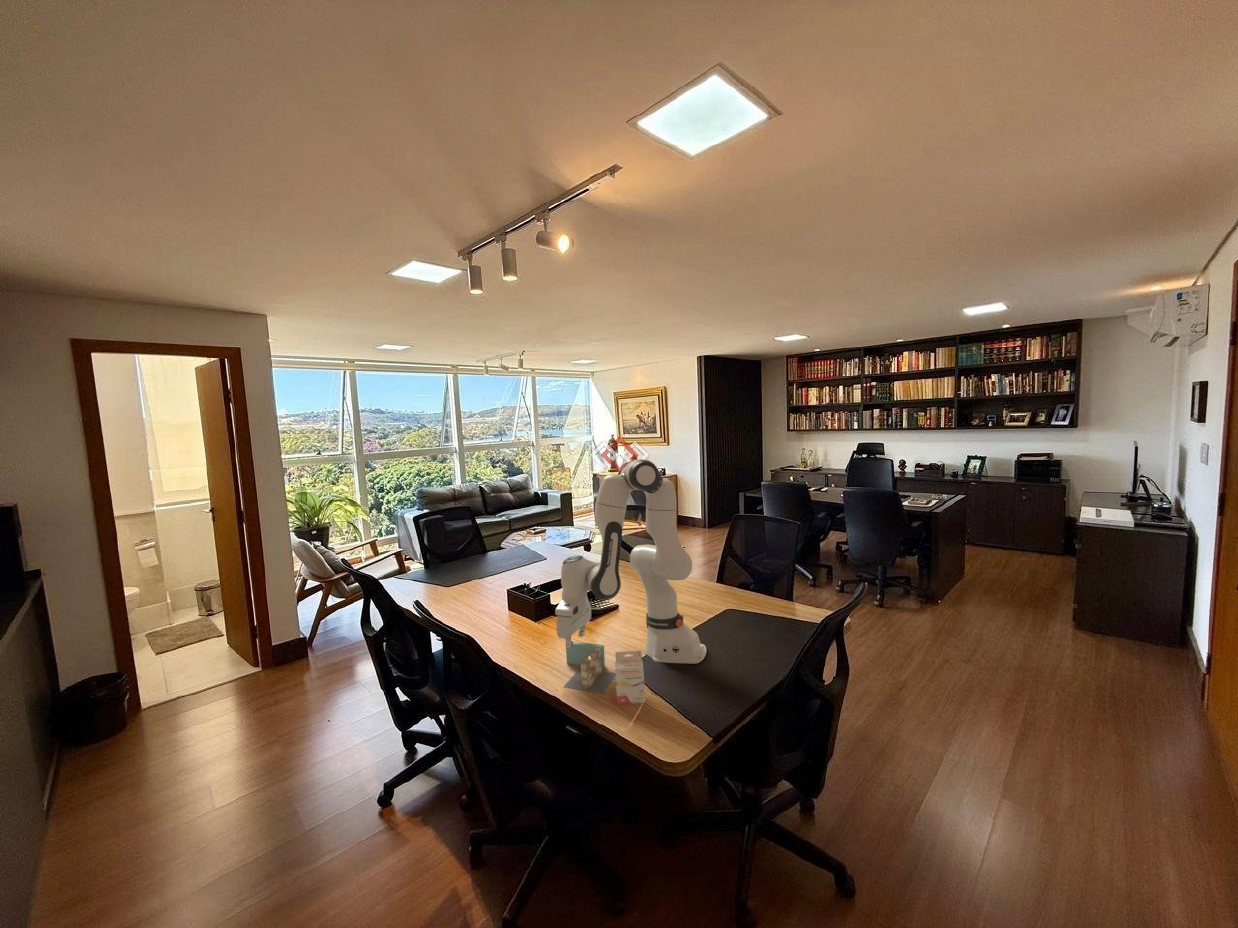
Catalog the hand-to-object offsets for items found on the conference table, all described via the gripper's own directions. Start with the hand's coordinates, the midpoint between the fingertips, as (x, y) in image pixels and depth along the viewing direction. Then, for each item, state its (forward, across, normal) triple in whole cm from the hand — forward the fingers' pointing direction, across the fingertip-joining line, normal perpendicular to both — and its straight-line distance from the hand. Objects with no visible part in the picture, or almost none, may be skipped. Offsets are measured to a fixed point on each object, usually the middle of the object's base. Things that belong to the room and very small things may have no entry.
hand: (575, 641), depth 174 cm
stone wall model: (+8, +8, +10) cm, 15 cm away
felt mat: (+9, +8, +9) cm, 15 cm away
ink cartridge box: (+9, +15, +26) cm, 31 cm away
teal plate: (+9, -1, +3) cm, 9 cm away
